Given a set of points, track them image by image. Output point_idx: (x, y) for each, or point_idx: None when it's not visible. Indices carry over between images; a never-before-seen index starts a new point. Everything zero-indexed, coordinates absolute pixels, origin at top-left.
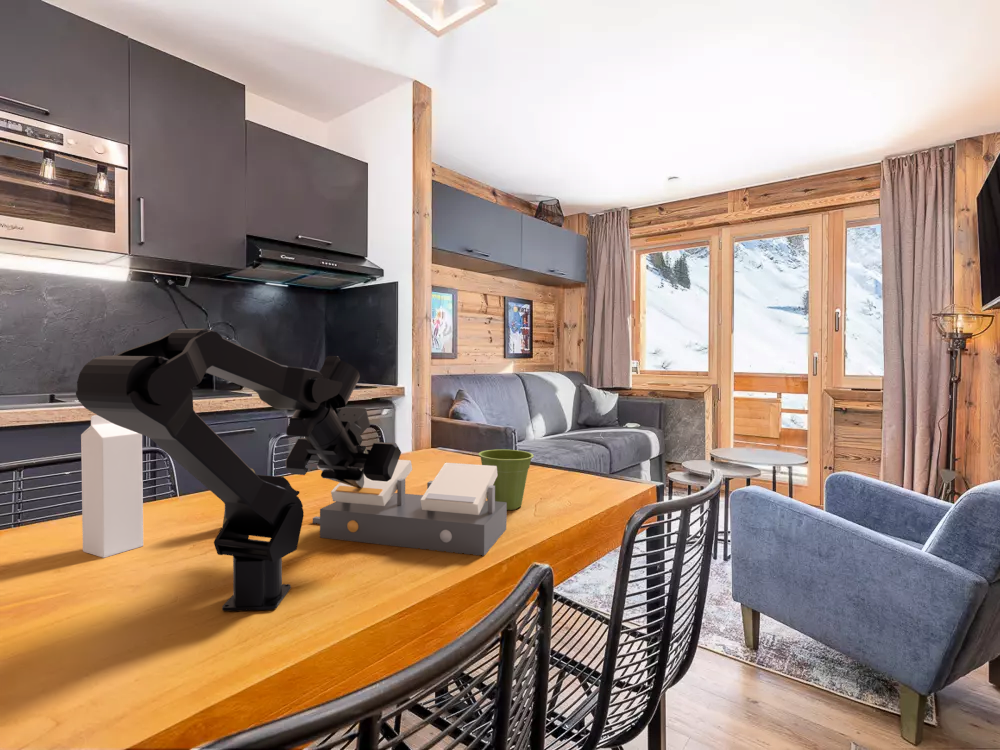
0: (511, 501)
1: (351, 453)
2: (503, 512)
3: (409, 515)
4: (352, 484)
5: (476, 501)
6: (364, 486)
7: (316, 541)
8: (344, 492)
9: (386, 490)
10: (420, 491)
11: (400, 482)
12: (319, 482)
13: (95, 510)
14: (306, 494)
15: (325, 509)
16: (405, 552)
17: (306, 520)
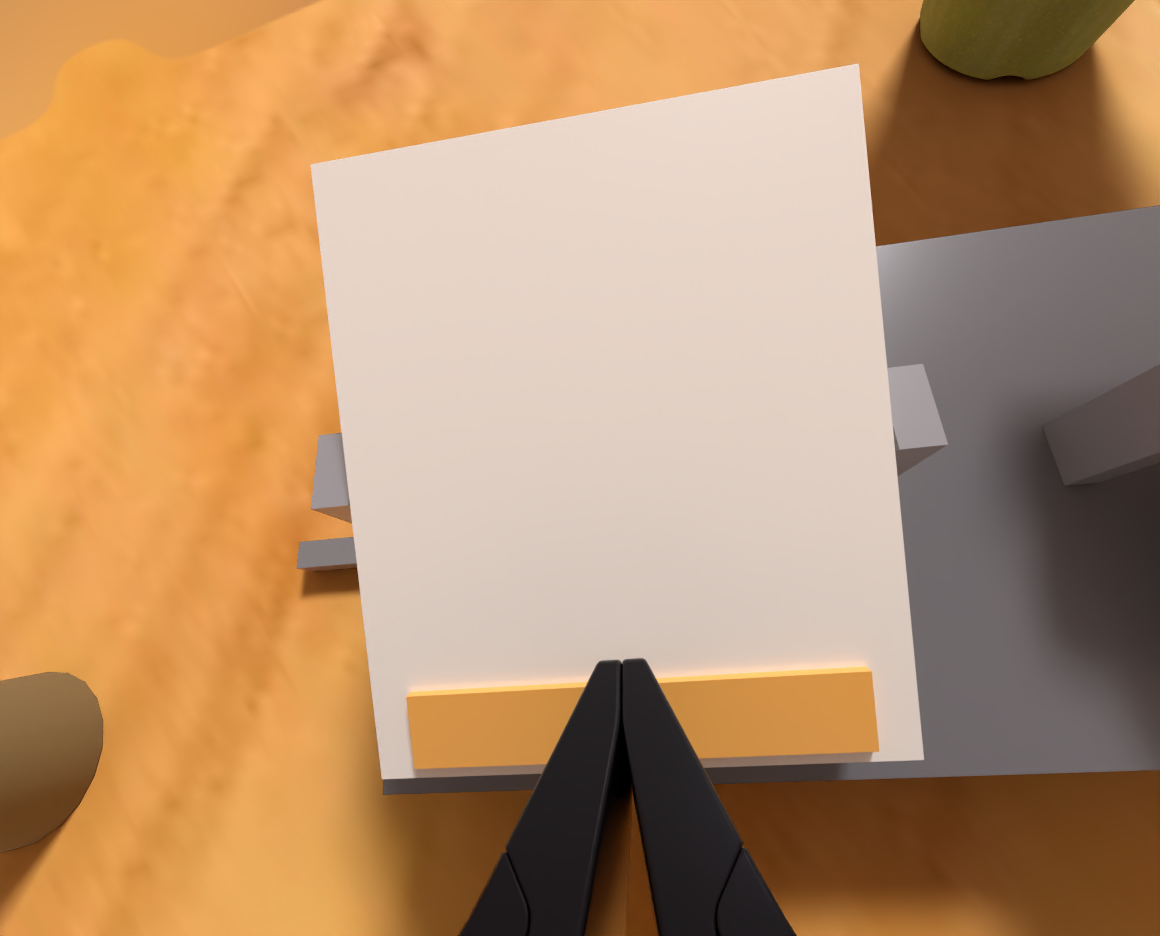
0: (1118, 16)
1: None
2: None
3: (1096, 711)
4: (626, 876)
5: None
6: (641, 645)
7: (473, 811)
8: (513, 770)
9: (912, 666)
10: (527, 37)
11: (928, 453)
12: (88, 120)
13: None
14: (105, 256)
15: (424, 791)
16: (1028, 806)
17: (267, 545)
